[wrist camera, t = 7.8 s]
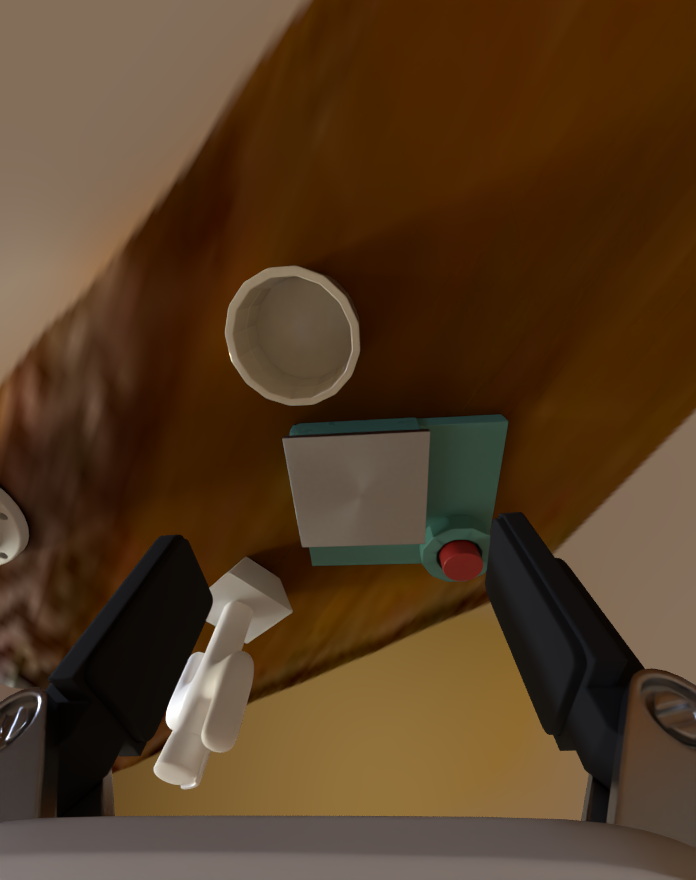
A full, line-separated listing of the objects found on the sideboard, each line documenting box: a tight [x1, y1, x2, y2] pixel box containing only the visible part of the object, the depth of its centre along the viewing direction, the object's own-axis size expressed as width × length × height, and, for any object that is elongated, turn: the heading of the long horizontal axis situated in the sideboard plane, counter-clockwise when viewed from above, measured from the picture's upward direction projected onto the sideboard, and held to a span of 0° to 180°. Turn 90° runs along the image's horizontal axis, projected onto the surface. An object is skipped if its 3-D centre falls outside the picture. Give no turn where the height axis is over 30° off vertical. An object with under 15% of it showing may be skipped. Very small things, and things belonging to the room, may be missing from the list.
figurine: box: [154, 557, 293, 789], centre depth 26 cm, size 7×9×15 cm
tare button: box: [439, 540, 483, 581], centre depth 26 cm, size 3×3×2 cm
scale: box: [290, 414, 508, 582], centre depth 26 cm, size 16×14×3 cm
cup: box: [225, 266, 360, 406], centre depth 20 cm, size 7×7×5 cm
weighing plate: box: [282, 418, 430, 547], centre depth 25 cm, size 10×10×4 cm
